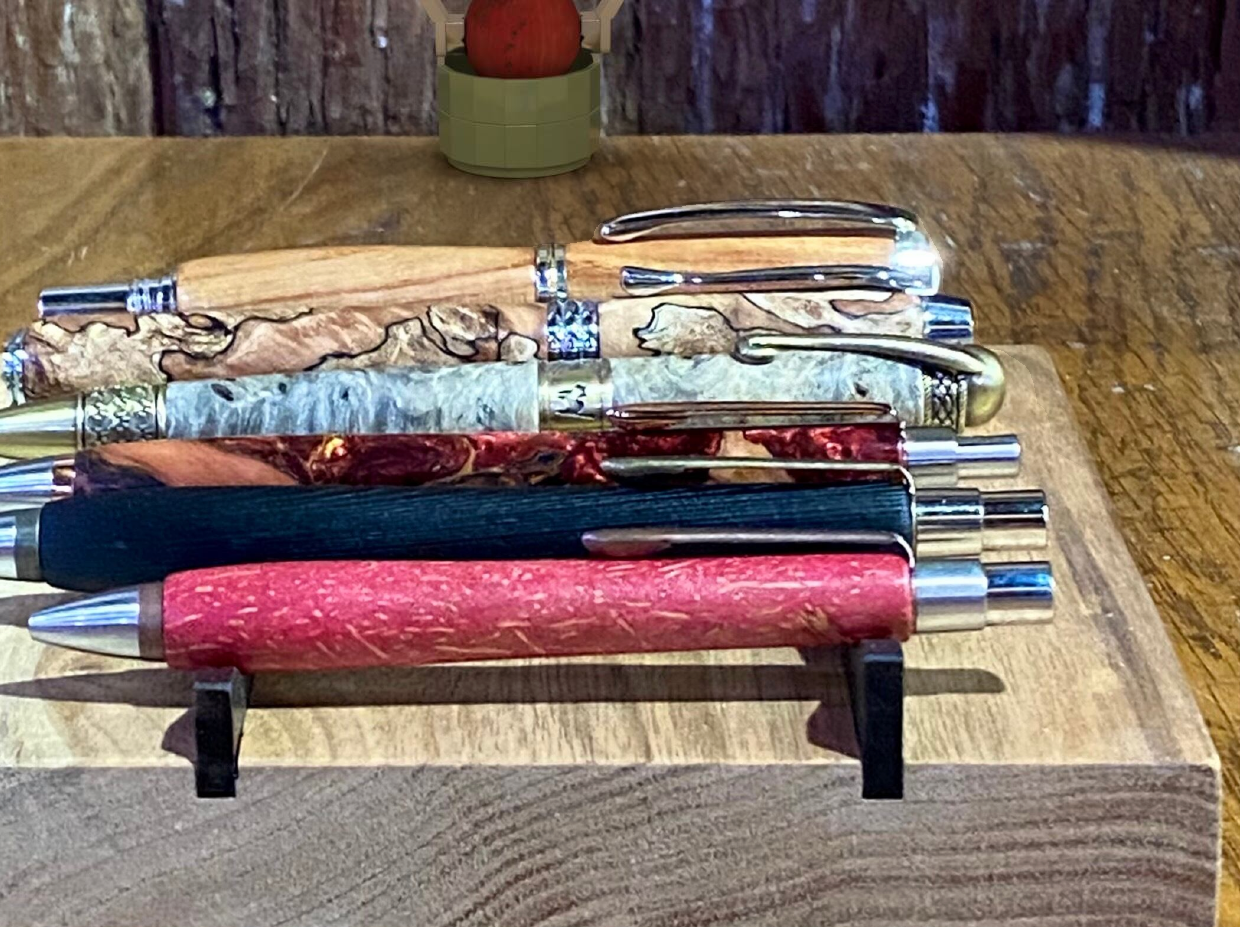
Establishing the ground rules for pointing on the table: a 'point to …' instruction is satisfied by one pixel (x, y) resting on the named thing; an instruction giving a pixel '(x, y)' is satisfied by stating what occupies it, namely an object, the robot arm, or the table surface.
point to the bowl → (518, 119)
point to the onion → (522, 38)
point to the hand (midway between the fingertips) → (521, 53)
